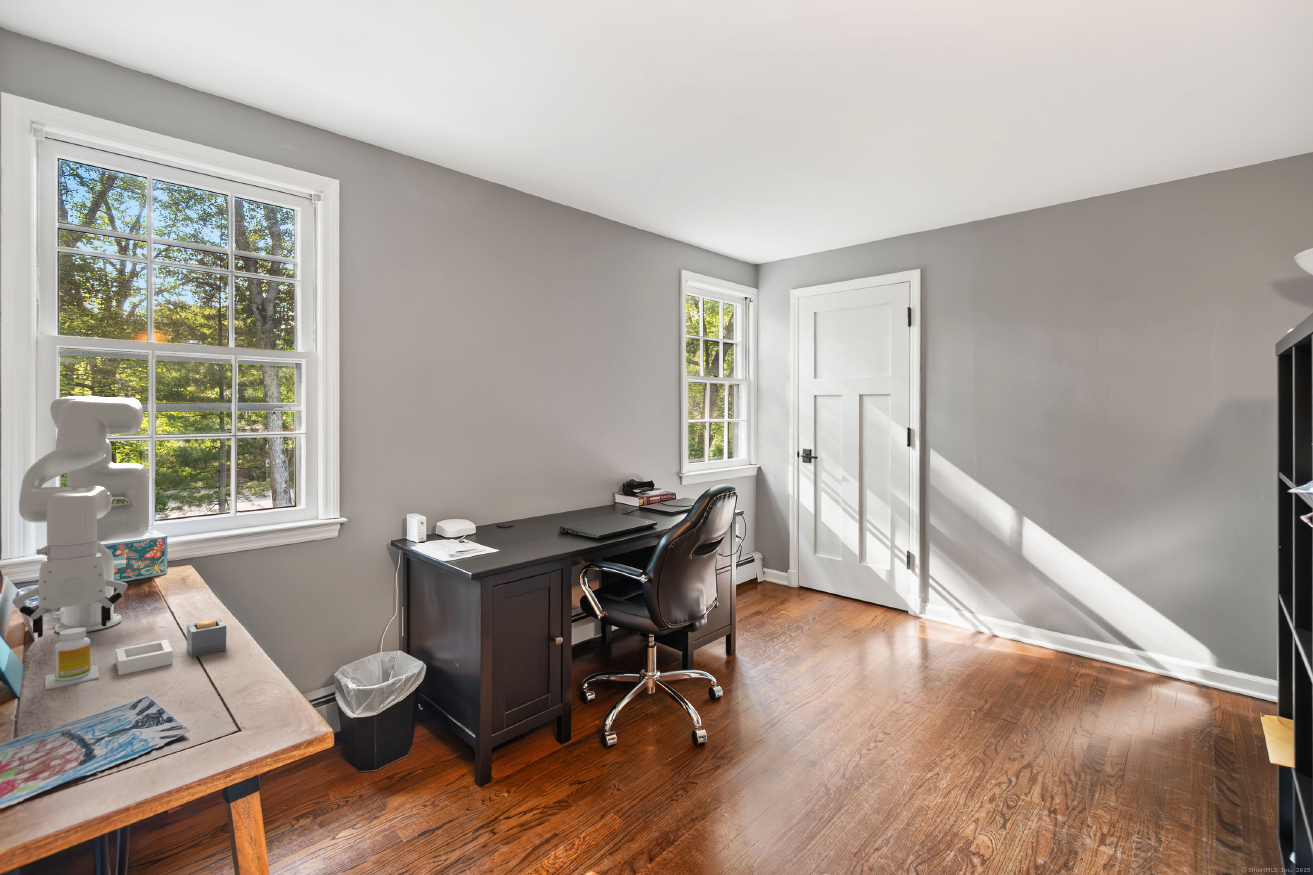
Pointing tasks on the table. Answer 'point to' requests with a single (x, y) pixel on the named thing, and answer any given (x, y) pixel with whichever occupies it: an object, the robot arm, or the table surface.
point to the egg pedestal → (206, 639)
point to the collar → (143, 656)
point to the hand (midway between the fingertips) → (72, 629)
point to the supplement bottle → (72, 655)
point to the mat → (53, 683)
